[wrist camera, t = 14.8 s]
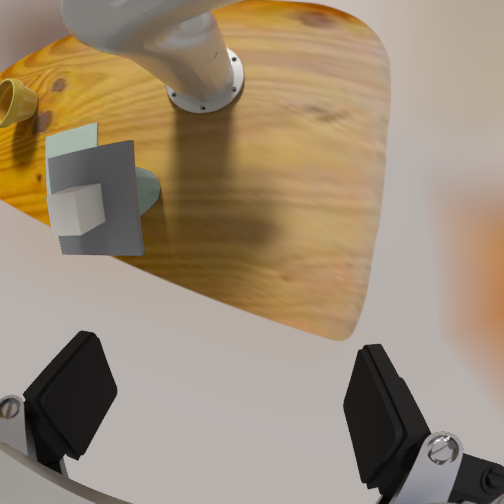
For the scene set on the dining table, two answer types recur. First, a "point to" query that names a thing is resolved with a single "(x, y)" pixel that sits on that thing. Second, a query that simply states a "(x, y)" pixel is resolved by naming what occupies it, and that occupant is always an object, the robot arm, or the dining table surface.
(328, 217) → the dining table surface
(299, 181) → the dining table surface
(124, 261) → the dining table surface
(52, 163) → the lid
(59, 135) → the mat
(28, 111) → the plant pot
